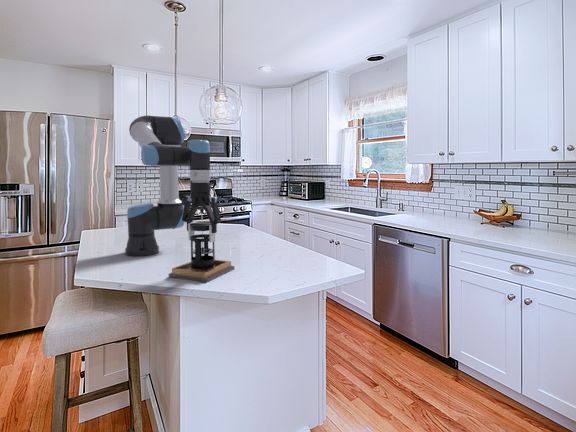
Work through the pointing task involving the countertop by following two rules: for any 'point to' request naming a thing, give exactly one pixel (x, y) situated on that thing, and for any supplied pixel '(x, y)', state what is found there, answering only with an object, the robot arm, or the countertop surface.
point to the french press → (202, 260)
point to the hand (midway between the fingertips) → (201, 240)
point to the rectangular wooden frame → (201, 271)
